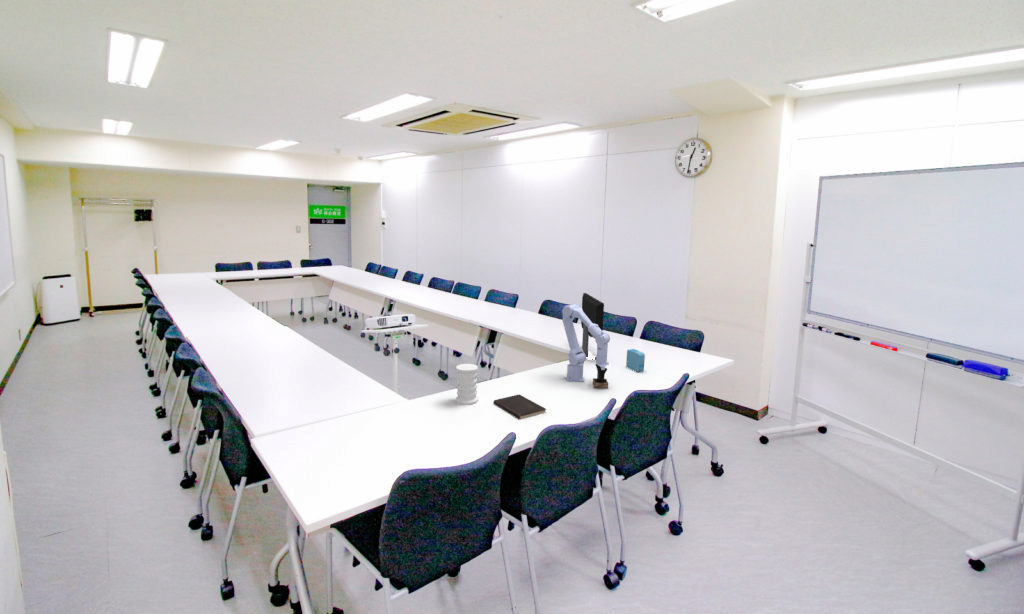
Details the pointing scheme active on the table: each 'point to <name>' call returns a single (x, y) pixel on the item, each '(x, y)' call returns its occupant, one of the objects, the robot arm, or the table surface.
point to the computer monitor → (591, 317)
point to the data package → (635, 360)
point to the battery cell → (598, 379)
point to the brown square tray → (600, 385)
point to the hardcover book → (519, 406)
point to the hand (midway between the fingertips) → (600, 378)
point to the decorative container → (466, 384)
